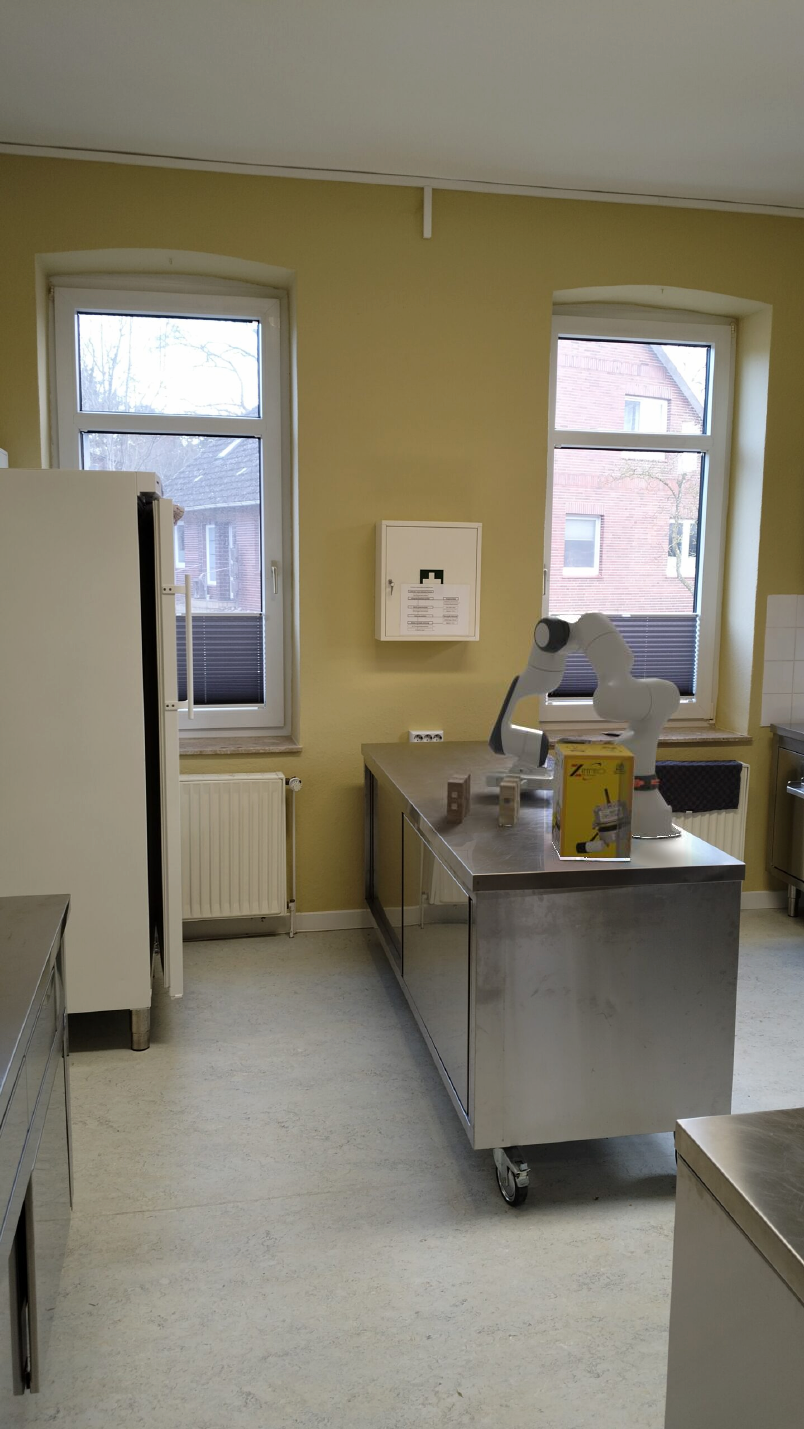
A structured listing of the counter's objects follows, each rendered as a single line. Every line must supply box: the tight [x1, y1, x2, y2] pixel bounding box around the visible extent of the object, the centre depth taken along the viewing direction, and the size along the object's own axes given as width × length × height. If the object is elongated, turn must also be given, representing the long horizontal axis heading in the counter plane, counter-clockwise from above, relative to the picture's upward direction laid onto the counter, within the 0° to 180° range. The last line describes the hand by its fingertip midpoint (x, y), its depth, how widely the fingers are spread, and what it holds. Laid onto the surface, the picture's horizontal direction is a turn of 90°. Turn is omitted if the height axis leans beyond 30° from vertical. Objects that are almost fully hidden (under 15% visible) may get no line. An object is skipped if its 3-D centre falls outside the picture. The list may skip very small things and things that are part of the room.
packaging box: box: [550, 743, 635, 858], centre depth 240 cm, size 16×16×25 cm
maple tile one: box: [498, 775, 521, 827], centre depth 272 cm, size 14×4×11 cm, turn 167°
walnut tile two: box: [446, 771, 471, 824], centre depth 275 cm, size 14×4×11 cm, turn 167°
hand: (517, 786), depth 290 cm, fingers closed
